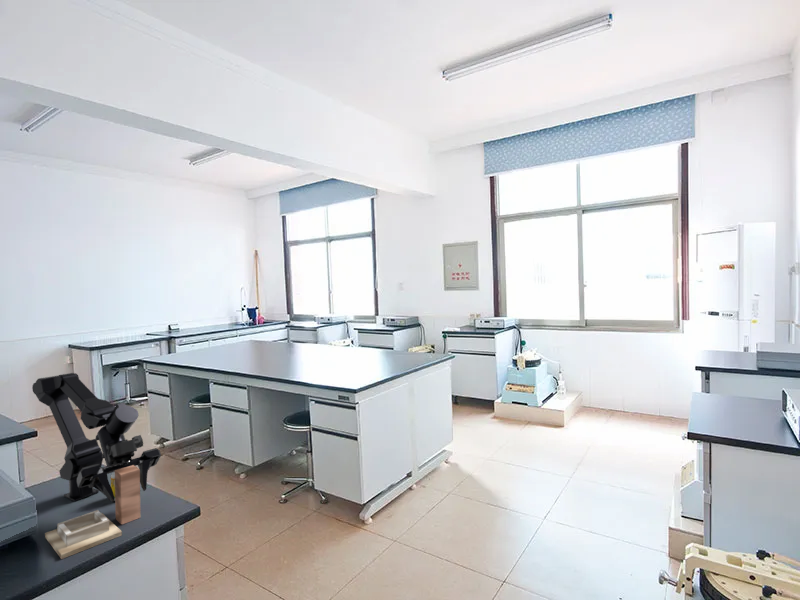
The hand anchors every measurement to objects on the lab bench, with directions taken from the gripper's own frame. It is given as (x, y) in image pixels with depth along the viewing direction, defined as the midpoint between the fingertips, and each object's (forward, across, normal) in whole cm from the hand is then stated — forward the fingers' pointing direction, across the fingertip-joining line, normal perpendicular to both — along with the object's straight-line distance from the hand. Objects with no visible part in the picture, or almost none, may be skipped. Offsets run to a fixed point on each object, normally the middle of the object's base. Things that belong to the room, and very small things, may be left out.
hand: (129, 495), depth 112 cm
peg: (+4, 0, +6) cm, 7 cm away
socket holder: (+4, -10, +5) cm, 12 cm away
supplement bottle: (-7, +4, +16) cm, 18 cm away
